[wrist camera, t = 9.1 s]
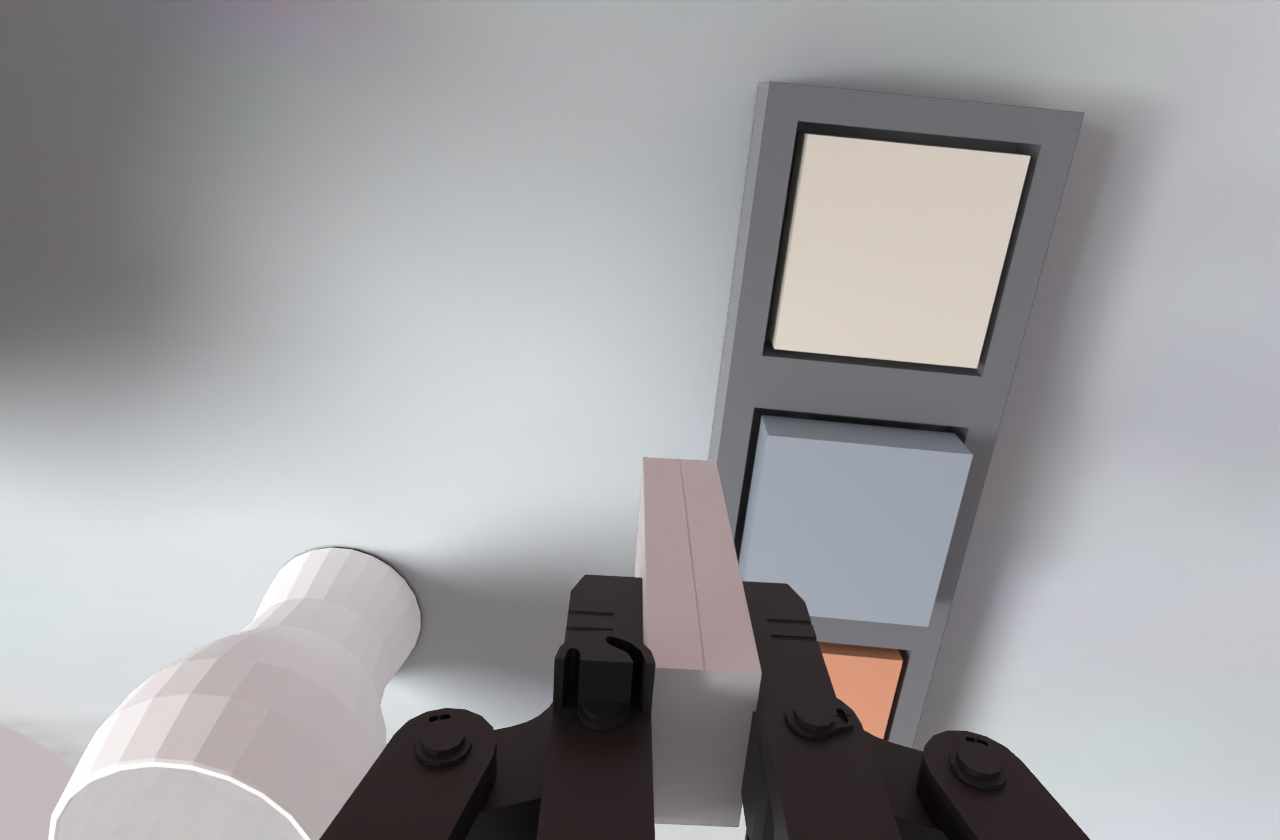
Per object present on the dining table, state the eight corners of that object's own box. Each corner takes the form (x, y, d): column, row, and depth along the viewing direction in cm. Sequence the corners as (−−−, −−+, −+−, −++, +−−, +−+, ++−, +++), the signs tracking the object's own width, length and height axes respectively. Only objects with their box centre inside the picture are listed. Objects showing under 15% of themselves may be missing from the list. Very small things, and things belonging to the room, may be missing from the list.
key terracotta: (724, 616, 40) (728, 644, 37) (890, 631, 40) (902, 660, 38) (704, 746, 42) (706, 779, 40) (859, 761, 43) (869, 794, 40)
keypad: (758, 82, 32) (769, 81, 29) (1041, 110, 33) (1084, 112, 29) (670, 744, 45) (670, 797, 41) (876, 763, 45) (893, 817, 41)
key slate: (761, 414, 34) (767, 435, 32) (954, 433, 34) (973, 454, 32) (735, 581, 37) (739, 609, 35) (913, 597, 37) (928, 626, 35)
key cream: (798, 131, 31) (808, 134, 29) (1007, 151, 32) (1030, 156, 30) (767, 334, 34) (774, 349, 32) (958, 352, 34) (976, 368, 32)
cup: (482, 577, 41) (389, 825, 27) (403, 725, 45) (285, 1012, 31) (280, 485, 40) (70, 698, 26) (215, 646, 43) (-1, 911, 29)
